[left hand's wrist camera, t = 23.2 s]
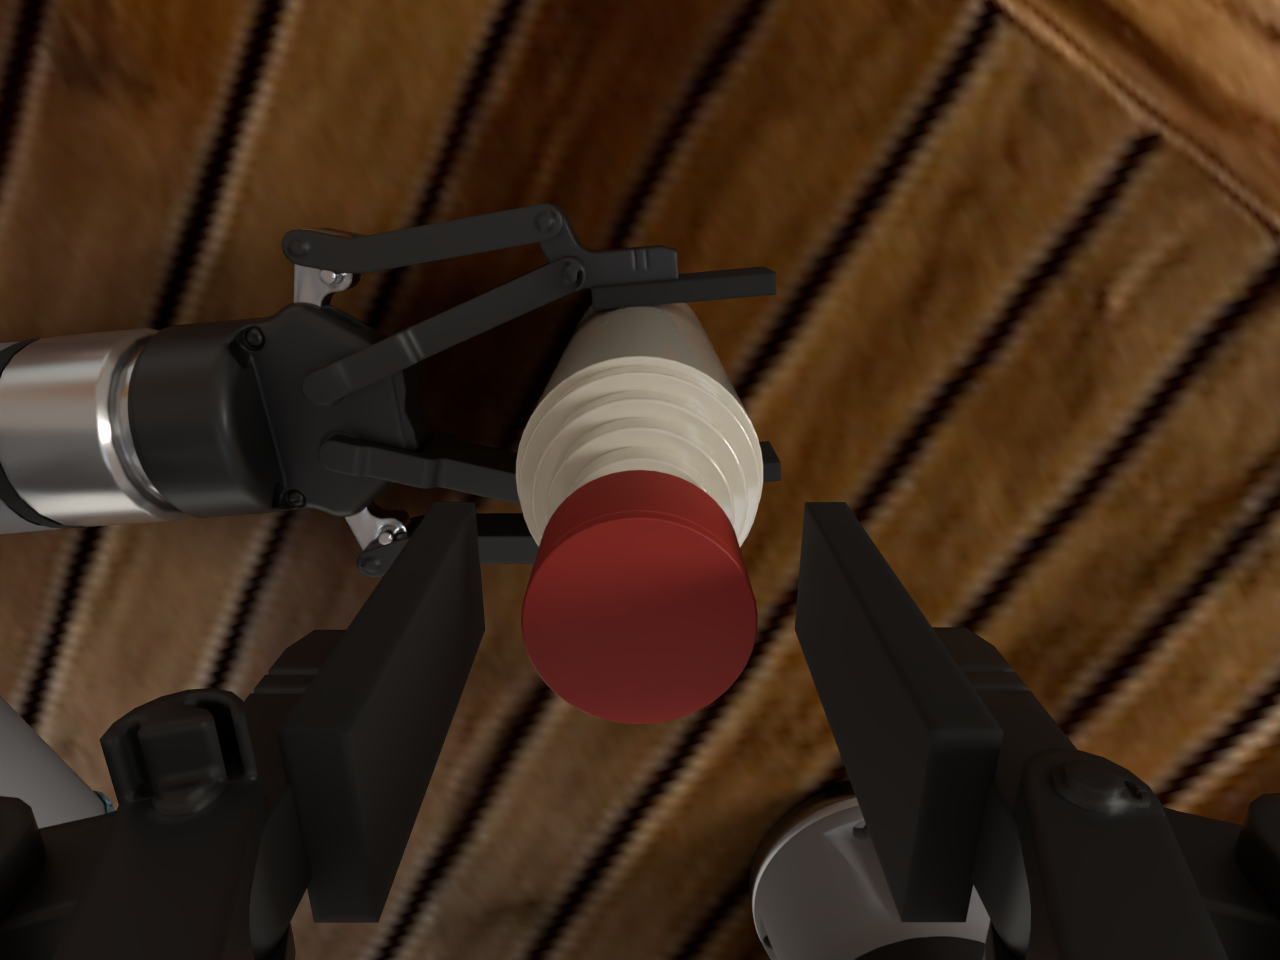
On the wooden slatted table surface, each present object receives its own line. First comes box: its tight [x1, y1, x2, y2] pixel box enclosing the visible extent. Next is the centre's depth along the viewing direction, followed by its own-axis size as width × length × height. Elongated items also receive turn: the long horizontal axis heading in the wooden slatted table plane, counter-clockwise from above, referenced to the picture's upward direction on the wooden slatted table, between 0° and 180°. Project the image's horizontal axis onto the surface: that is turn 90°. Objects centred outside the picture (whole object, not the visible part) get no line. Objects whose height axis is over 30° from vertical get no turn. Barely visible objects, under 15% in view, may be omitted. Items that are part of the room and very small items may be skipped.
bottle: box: [516, 302, 763, 547], centre depth 24 cm, size 6×6×24 cm
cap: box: [521, 470, 757, 724], centre depth 14 cm, size 4×4×2 cm
